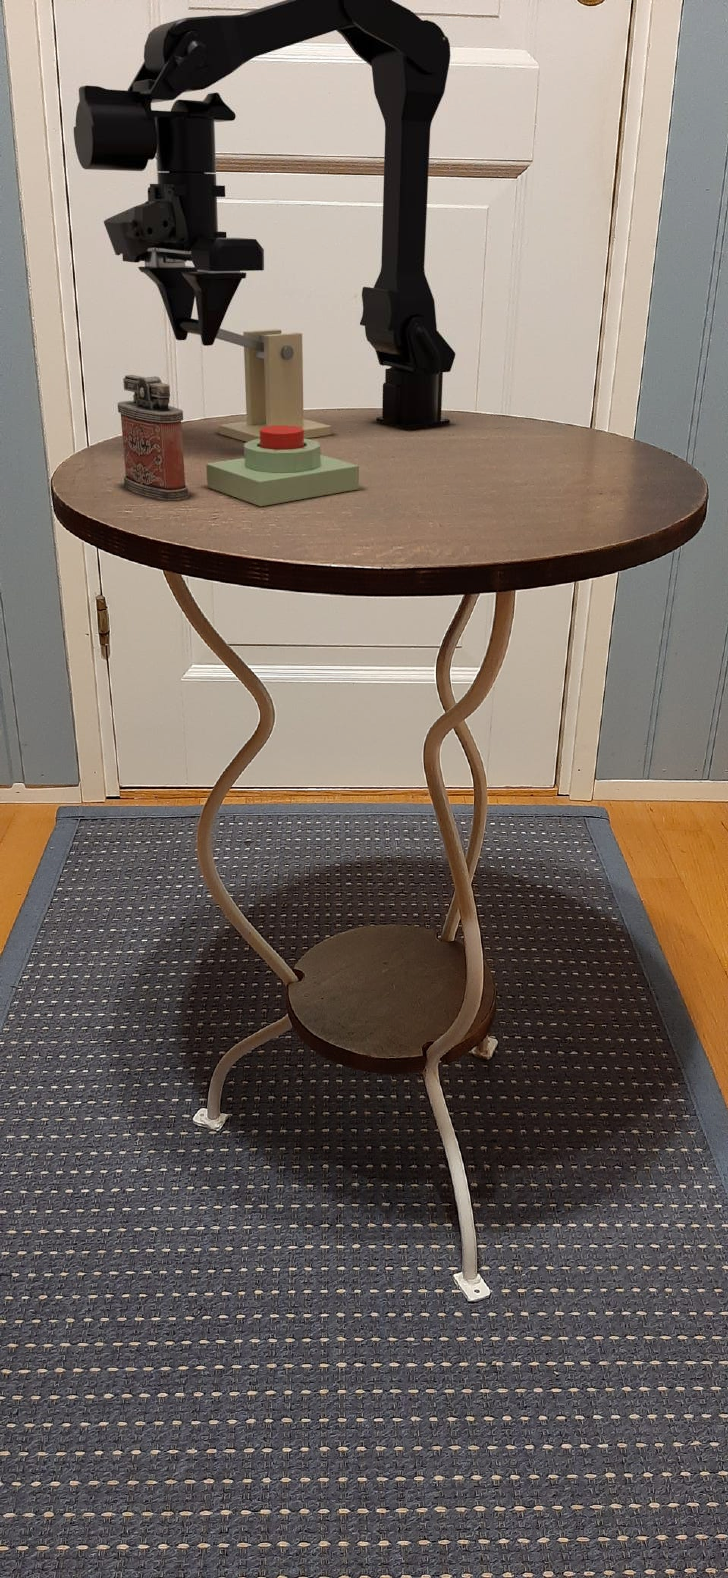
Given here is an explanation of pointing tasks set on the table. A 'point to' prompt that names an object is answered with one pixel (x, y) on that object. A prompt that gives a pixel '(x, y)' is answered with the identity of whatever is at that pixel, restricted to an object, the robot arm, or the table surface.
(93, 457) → the table surface
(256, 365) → the bracket
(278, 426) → the button
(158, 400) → the lighter
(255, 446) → the button box
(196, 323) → the lever
